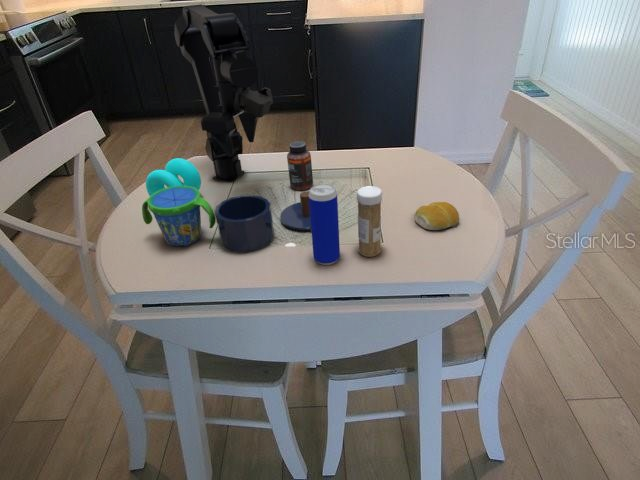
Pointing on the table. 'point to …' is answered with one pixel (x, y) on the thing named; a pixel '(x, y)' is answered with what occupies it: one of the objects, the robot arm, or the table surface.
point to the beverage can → (324, 223)
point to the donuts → (173, 176)
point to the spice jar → (369, 220)
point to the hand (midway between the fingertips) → (241, 148)
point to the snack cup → (178, 213)
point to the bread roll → (437, 216)
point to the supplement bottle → (299, 166)
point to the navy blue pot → (245, 223)
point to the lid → (298, 214)
